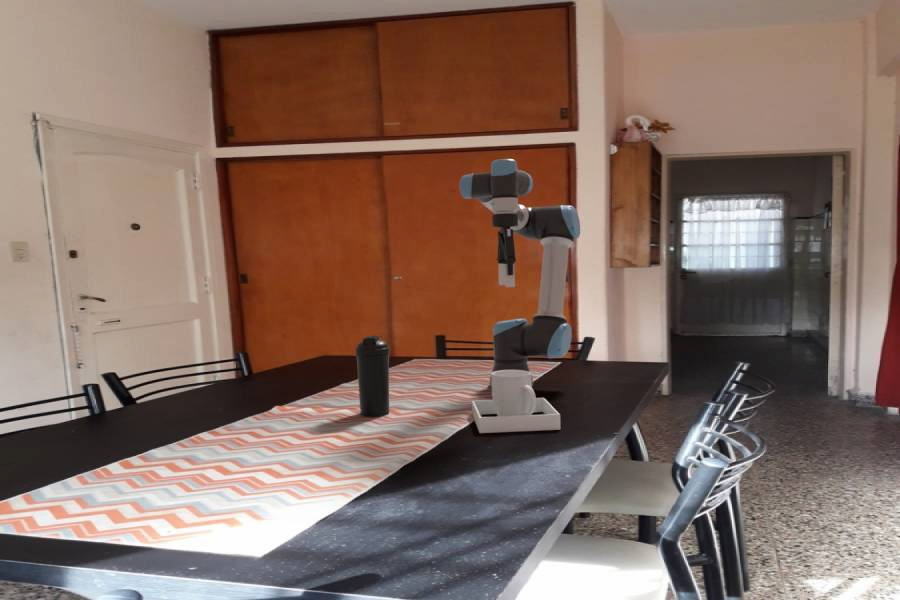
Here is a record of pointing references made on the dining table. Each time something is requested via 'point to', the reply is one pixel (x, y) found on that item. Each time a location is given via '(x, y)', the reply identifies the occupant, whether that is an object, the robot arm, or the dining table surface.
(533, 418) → the white shallow tray
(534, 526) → the dining table surface
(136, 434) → the dining table surface
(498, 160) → the robot arm
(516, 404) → the mug
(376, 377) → the water bottle
